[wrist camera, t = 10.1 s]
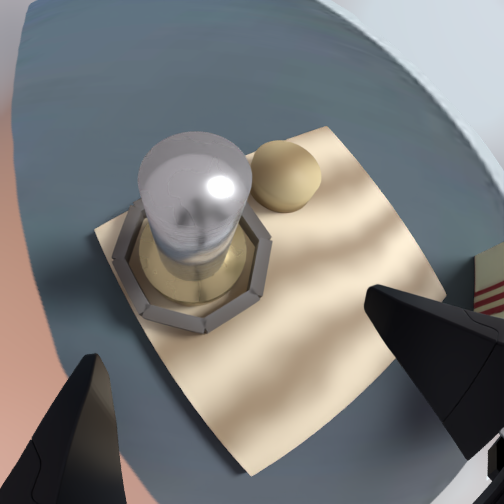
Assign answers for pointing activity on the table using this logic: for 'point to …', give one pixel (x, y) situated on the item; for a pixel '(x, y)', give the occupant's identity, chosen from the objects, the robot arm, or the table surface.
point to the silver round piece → (193, 216)
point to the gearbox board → (282, 299)
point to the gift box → (490, 282)
